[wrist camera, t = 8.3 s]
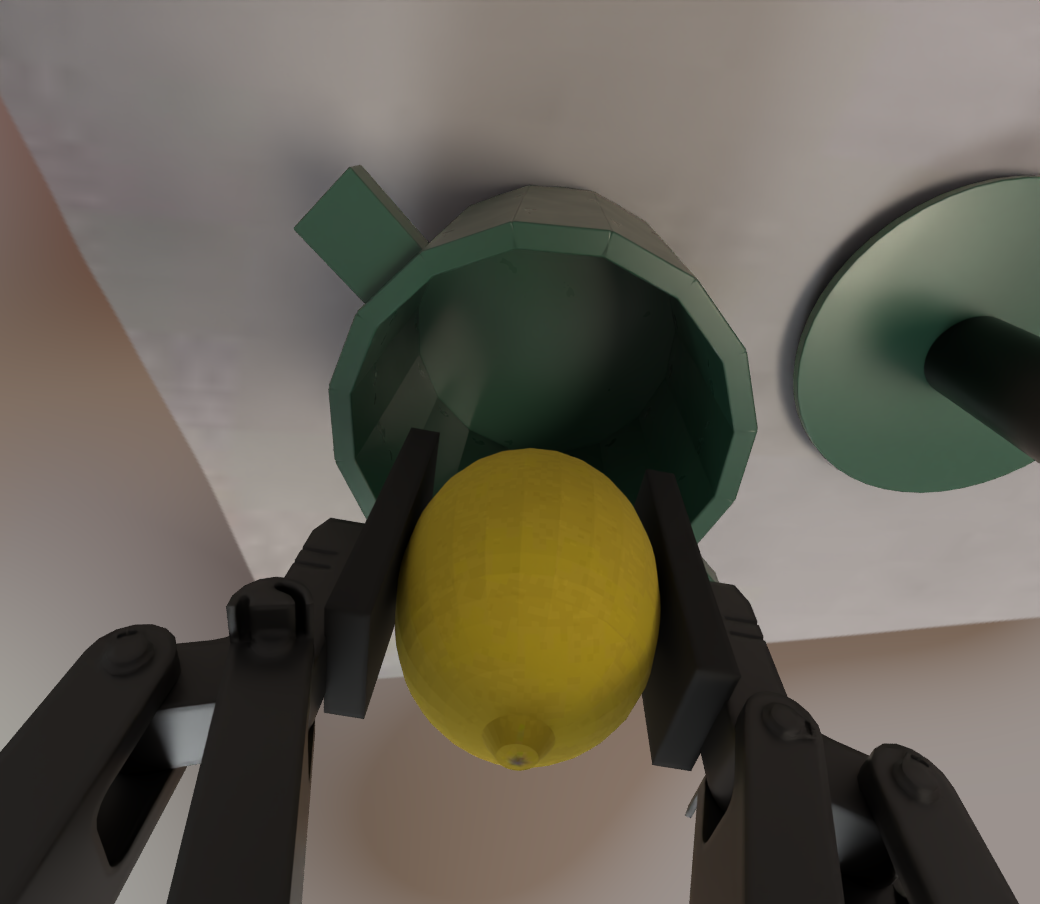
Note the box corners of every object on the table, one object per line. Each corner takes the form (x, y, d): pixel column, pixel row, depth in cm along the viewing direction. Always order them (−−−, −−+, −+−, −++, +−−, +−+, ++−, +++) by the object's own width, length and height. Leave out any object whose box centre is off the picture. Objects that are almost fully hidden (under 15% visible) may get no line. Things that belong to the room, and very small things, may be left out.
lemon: (428, 548, 17) (341, 830, 10) (446, 377, 15) (345, 605, 8) (609, 577, 18) (643, 875, 11) (660, 415, 15) (751, 671, 8)
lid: (1074, 86, 21) (1356, 66, 14) (1175, 368, 26) (1425, 468, 19) (730, 326, 26) (799, 407, 19) (868, 525, 31) (967, 653, 24)
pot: (524, 47, 22) (499, -7, 13) (770, 398, 28) (871, 531, 19) (305, 274, 26) (171, 353, 17) (558, 531, 33) (558, 689, 24)
